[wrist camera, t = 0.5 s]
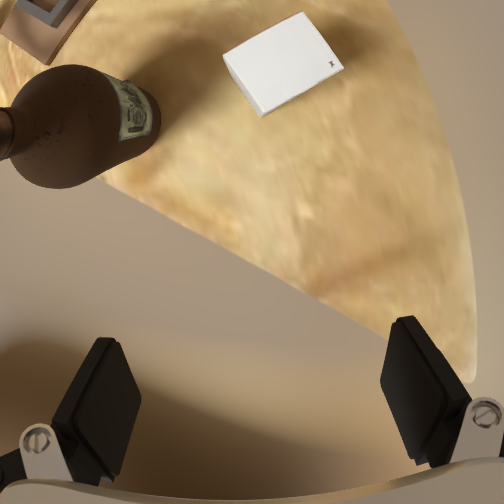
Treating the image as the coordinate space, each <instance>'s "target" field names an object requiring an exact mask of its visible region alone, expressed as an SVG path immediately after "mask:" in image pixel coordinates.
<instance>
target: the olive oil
mask: <svg viewBox="0 0 504 504" xmlns="http://www.w3.org/2000/svg"><path fill="white" fill-rule="evenodd" d="M160 124H161V116H160V110H159V107H158V105H157V103H156V101H155V99H154V98H153V97H152V96H151V95H150V94H149V93H148V92H146V91H145V90H143V89H141V88H138V87H137V86H136V85H135V84H133V83H132V82H130V81H128V80H125V81H121V80H119V79H116V78H114V77H112V76H109V75H107V74H105V73H102V72H100V71H98V70H96V69H93V68H91V67H88V66H83V65H75V64H71V65H62V66H57V67H54V68H51V69H48V70H46V71H43V72H41V73H40V74H38V75H36V76H35V77H33V78H32V79H31V80H30V81H28V82H27V83H26V84H25V85H24V86H23V88H22V89H21V90H20V91H19V93H18V94H17V96H16V97H15V99H14V101H13V103H12V105H11V107H5V108H3V107H0V161H2V160H4V159H8V158H10V159H11V162H12V163H13V165H14V167H15V168H16V170H17V171H18V172H19V173H20V174H21V175H22V176H23V177H24V178H25V179H26V180H28V181H30V182H31V183H33V184H36V185H38V186H41V187H45V188H53V189H63V188H71V187H74V186H77V185H80V184H82V183H84V182H86V181H88V180H90V179H92V178H94V177H96V176H97V175H99V174H101V173H103V172H105V171H107V170H109V169H111V168H113V167H115V166H117V165H119V164H121V163H123V162H125V161H127V160H130V159H132V158H135V157H137V156H139V155H141V154H142V153H144V152H145V151H146V150H148V149H149V148H150V146H151V145H152V144H153V143H154V141H155V139H156V138H157V135H158V133H159V129H160Z"/></svg>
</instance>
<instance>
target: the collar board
mask: <svg viewBox="0 0 504 504" xmlns="http://www.w3.org/2000/svg"><path fill="white" fill-rule="evenodd" d="M95 2H96V0H18V1H17V2H16V4H15V7H14V8H13V10H12V11H11V13H10V15H9V16H8V18H7V19H6V21H5V22H4V24H3V26H2V27H1V29H0V33H1V34H2V35H3V36H5V37H6V38H8V39H9V40H11V41H12V42H13V43H15V44H16V45H18V46H19V47H21V48H22V49H23V50H25V51H26V52H28V53H29V54H30V55H32V56H33V57H35V58H36V59H37V60H39V61H40V62H42V63H43V64H44V65H48V66H49V65H50V64H51V62H52V61H53V59H54V58H55V56H56V54H57V53H58V51H59V50H60V48H61V47H62V45H63V44H64V43H65V41H66V40H67V38H68V37H69V35H70V34H71V33H72V31H73V30H74V28H75V27H76V26H77V24H78V23H79V22H80V20H81V19H82V18H83V17H84V15H85V14H86V13H87V11H88V10H89V9H90V8H91V6H92V5H93V4H94V3H95Z"/></svg>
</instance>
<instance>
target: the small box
mask: <svg viewBox="0 0 504 504" xmlns="http://www.w3.org/2000/svg"><path fill="white" fill-rule="evenodd" d="M223 59H224V61H225V63H226V66H227V68H228V70H229V73H230V75H231V77H232V79H233V80H234V82H235V83H236V84H237V86H238V87H239V89H240V90H241V91H242V93H243V94H244V96H245V97H246V98H247V100H248V101H249V103H250V104H251V106H252V107H253V108H254V110H255V111H256V113H257V114H258V116H259V117H260V118H262V117H264V116H266V115H267V114H269V113H271V112H272V111H274V110H276V109H277V108H279V107H281V106H282V105H284V104H286V103H287V102H289V101H291V100H292V99H294V98H296V97H298V96H299V95H301V94H302V93H304V92H306V91H307V90H309V89H311V88H312V87H314V86H315V85H317V84H319V83H320V82H322V81H324V80H325V79H327V78H329V77H331V76H332V75H334V74H336V73H338V72H339V71H341V70H343V69H344V66H343V65H342V64H341V62H340V61H339V59H338V58H337V57H336V55H335V54H334V52H333V51H332V50H331V48H330V47H329V45H328V44H327V42H326V41H325V40H324V38H323V37H322V36H321V34H320V33H319V32H318V30H317V29H316V28H315V26H314V25H313V24H312V22H311V21H310V20H309V19H308V17H307V16H306V15H305V13H304V12H303V11H301V12H299V13H296V14H294V15H292V16H290V17H288V18H286V19H284V20H282V21H280V22H278V23H277V24H275V25H273V26H271V27H269V28H267V29H265V30H264V31H262V32H260V33H258V34H256V35H255V36H253V37H251V38H249V39H248V40H246V41H244V42H243V43H241V44H239V45H238V46H236V47H234V48H233V49H231V50H229V51H228V52H226V53H225V54H223Z"/></svg>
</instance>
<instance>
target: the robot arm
mask: <svg viewBox="0 0 504 504" xmlns="http://www.w3.org/2000/svg"><path fill="white" fill-rule="evenodd" d="M380 383H381V388H382V390H383V393H384V395H385V397H386V400H387V402H388V405H389V407H390V409H391V412H392V415H393V417H394V419H395V422H396V424H397V427H398V429H399V432H400V435H401V437H402V440H403V443H404V445H405V448H406V450H407V453H408V456H409V457H410V459H415V463H416V465H417V466H418V465H421V464H424V463H427V462H429V465H430V467H431V469H429V470H426V471H423V472H419V473H416V474H412V475H409V476H406V477H402V478H398V479H394V480H390V481H386V482H382V483H378V484H373V485H369V486H364V487H360V488H355V489H349V490H344V491H338V492H332V493H325V494H319V495H311V496H302V497H292V498H281V499H267V500H236V501H235V500H230V501H229V500H196V499H181V498H170V497H160V496H152V495H144V494H137V493H130V492H125V491H119V490H113V489H107V488H102V487H99V486H98V485H99V482H100V480H101V481H106V482H111V483H113V482H114V478H115V476H118V475H119V473H120V470H121V467H122V463H123V460H124V457H125V453H126V449H127V446H128V443H129V439H130V436H131V433H132V430H133V426H134V423H135V420H136V417H137V414H138V411H139V407H140V404H141V394H140V391H139V389H138V387H137V385H136V382H135V380H134V378H133V375H132V373H131V370H130V368H129V365H128V363H127V360H126V358H125V355H124V353H123V350H122V347H121V345H120V343H119V342H116V340H115V339H114V338H107V337H105V338H104V337H103V338H102V337H100V338H97V339H96V341H95V343H94V344H93V346H92V348H91V349H90V351H89V353H88V355H87V356H86V358H85V360H84V362H83V363H82V365H81V367H80V369H79V370H78V372H77V374H76V376H75V377H74V379H73V381H72V383H71V385H70V387H69V388H68V390H67V392H66V394H65V396H64V398H63V400H62V401H61V403H60V405H59V407H58V409H57V411H56V413H55V415H54V417H53V419H52V424H51V426H49V425H46V424H35V425H32V426H31V427H29V428H27V429H26V430H25V431H24V432H23V434H22V435H21V437H20V441H19V445H20V448H19V449H16V450H14V451H12V452H10V453H8V454H5V455H3V456H1V457H0V504H504V408H503V407H502V405H501V404H500V403H499V402H497V401H496V400H494V399H492V398H488V397H480V398H476V399H474V400H472V399H471V397H470V395H469V394H468V392H467V391H466V389H465V387H464V386H463V384H462V383H461V381H460V380H459V378H458V377H457V375H456V374H455V372H454V371H453V369H452V367H451V366H450V364H449V363H448V361H447V360H446V359H445V357H444V356H443V354H442V353H441V351H440V350H439V349H437V347H436V346H435V344H434V343H433V341H432V340H431V339H430V337H429V336H428V334H427V333H426V331H425V330H424V329H423V327H422V326H421V324H420V323H419V322H418V320H417V319H416V318H415V317H414V316H413V315H411V316H405V317H399V318H397V320H396V322H394V323H393V324H392V326H391V331H390V336H389V341H388V347H387V351H386V356H385V361H384V365H383V369H382V373H381V378H380Z"/></svg>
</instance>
